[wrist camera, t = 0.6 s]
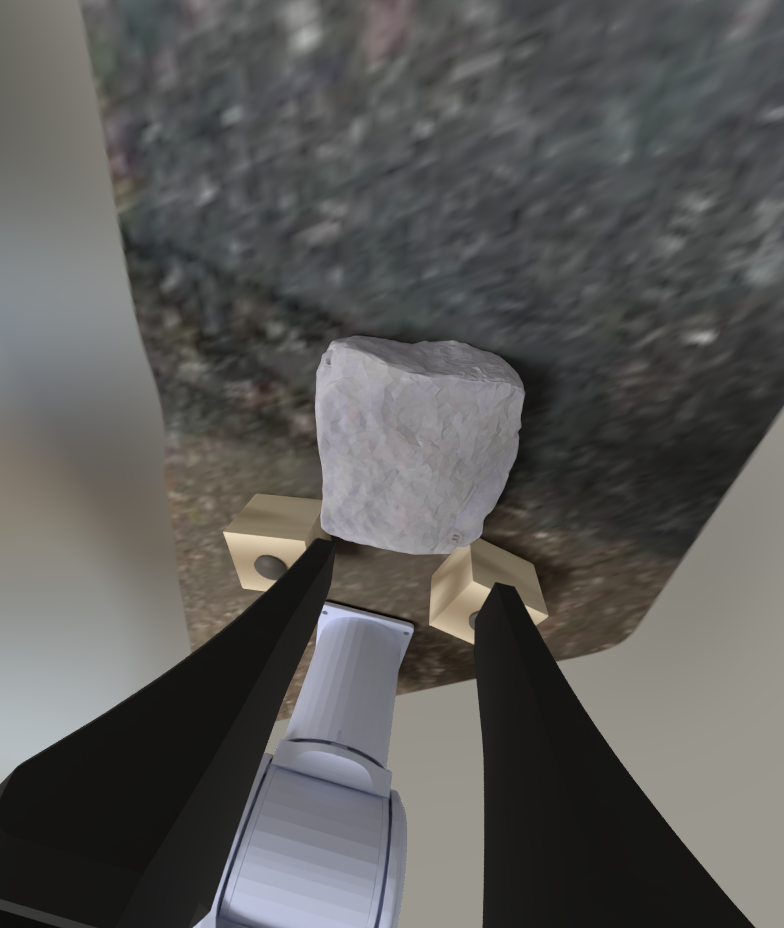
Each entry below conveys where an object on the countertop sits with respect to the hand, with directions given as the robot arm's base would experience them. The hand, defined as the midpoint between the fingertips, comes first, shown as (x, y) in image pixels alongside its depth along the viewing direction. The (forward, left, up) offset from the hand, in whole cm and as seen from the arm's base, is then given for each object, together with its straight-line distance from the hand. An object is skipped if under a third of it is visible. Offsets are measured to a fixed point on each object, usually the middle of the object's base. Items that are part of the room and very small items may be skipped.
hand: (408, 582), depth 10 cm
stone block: (0, 0, -10) cm, 10 cm away
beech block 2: (-8, -6, -10) cm, 14 cm away
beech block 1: (-8, +8, -10) cm, 15 cm away
